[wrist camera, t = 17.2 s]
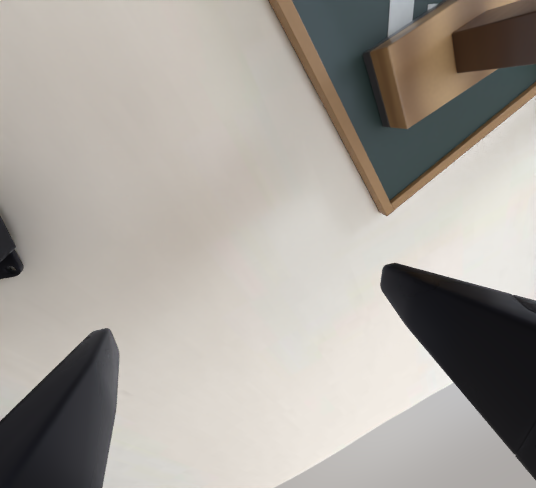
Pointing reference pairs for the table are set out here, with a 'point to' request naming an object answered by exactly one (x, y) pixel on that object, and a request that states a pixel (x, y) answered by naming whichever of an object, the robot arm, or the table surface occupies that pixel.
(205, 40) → the table surface
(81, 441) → the robot arm
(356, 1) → the slate board
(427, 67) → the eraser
